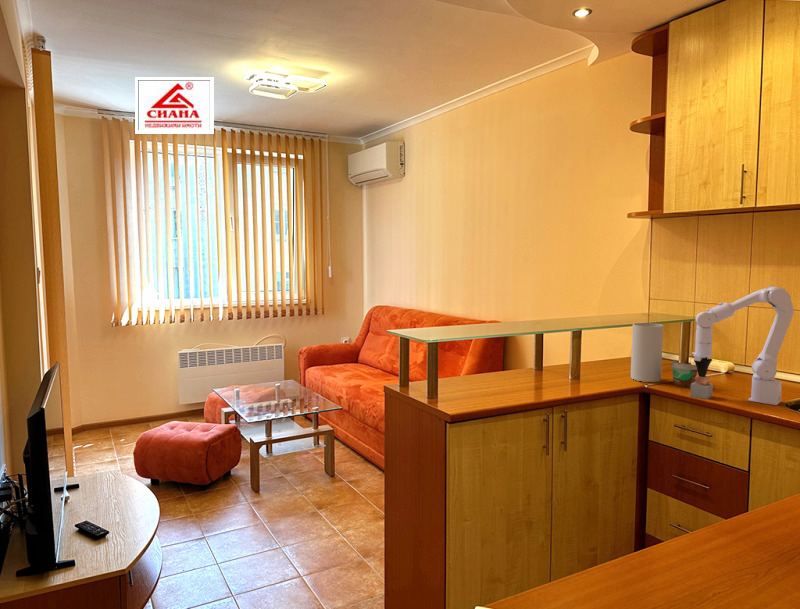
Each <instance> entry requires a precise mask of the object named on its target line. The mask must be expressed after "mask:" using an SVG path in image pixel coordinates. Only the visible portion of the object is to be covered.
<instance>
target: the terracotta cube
mask: <svg viewBox="0 0 800 609" xmlns="http://www.w3.org/2000/svg"><path fill="white" fill-rule="evenodd" d="M709 383H710V376H707V375H706V376H705V377H700V376H699V375H698V374H697V376H696V377H695V384H696V385H703V386H708V385H709Z"/></svg>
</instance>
